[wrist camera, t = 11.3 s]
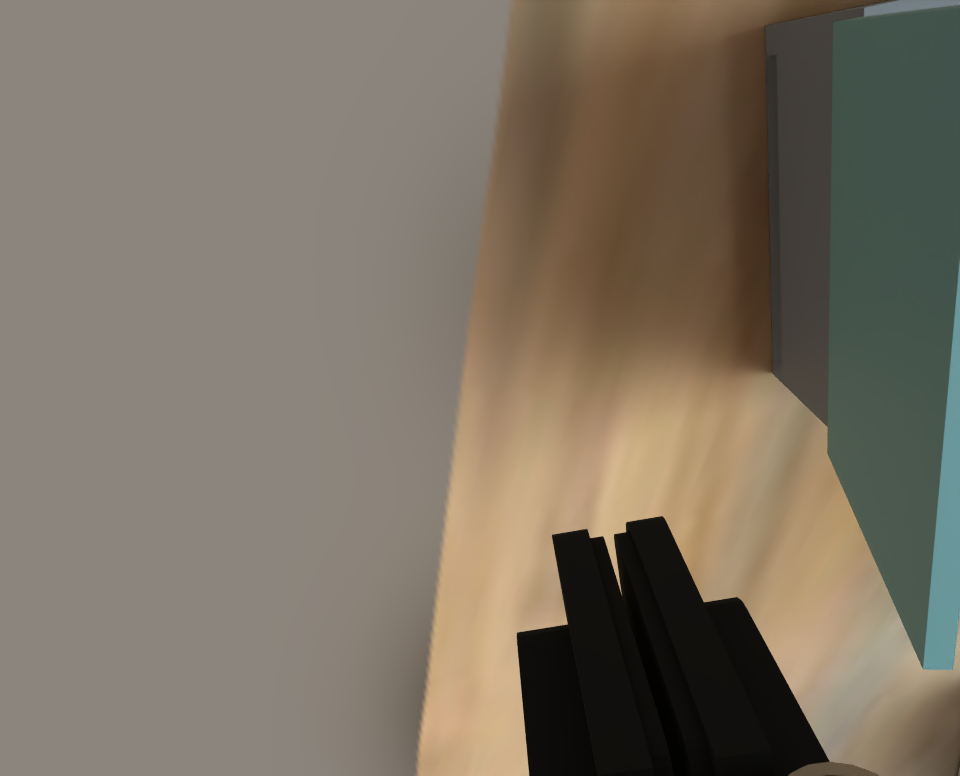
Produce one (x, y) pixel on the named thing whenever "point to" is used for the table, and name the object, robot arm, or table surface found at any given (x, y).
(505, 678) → the table surface
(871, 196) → the flap
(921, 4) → the box
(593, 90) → the table surface
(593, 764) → the robot arm
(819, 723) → the table surface
